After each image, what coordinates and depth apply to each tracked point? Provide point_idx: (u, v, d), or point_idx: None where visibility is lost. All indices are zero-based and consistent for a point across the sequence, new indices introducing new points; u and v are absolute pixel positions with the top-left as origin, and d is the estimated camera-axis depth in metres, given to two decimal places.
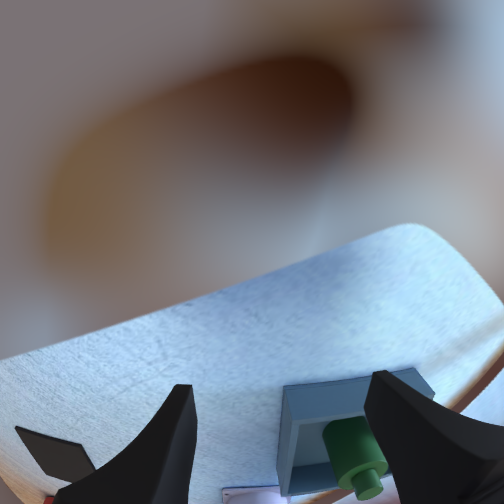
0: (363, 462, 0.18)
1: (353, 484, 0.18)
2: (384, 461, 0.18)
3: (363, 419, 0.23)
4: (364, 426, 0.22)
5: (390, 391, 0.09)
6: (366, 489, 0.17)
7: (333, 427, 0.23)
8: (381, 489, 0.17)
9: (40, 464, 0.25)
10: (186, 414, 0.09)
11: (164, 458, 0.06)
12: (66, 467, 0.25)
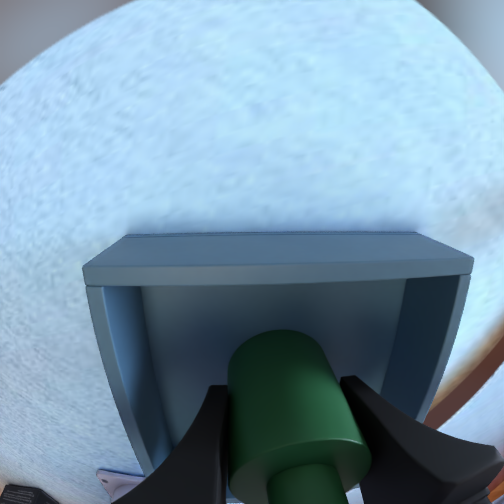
0: (290, 438, 0.07)
1: (268, 501, 0.06)
2: (359, 443, 0.07)
3: (313, 344, 0.12)
4: (312, 354, 0.11)
5: (355, 397, 0.09)
6: None
7: (241, 355, 0.12)
8: None
9: None
10: (225, 415, 0.09)
11: (215, 460, 0.06)
12: None
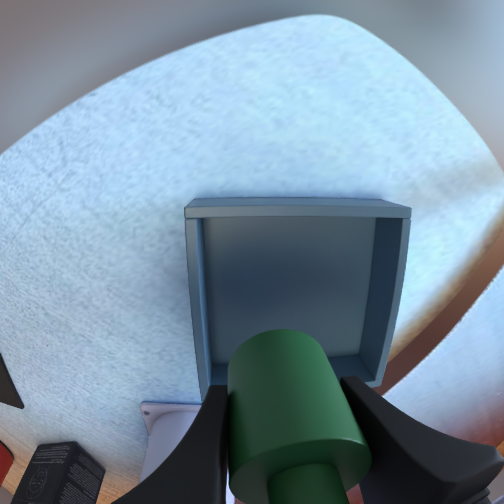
0: (290, 437, 0.07)
1: (268, 500, 0.06)
2: (360, 442, 0.07)
3: (314, 344, 0.12)
4: (312, 354, 0.11)
5: (355, 397, 0.09)
6: None
7: (241, 354, 0.12)
8: None
9: None
10: (225, 415, 0.09)
11: (215, 460, 0.06)
12: None
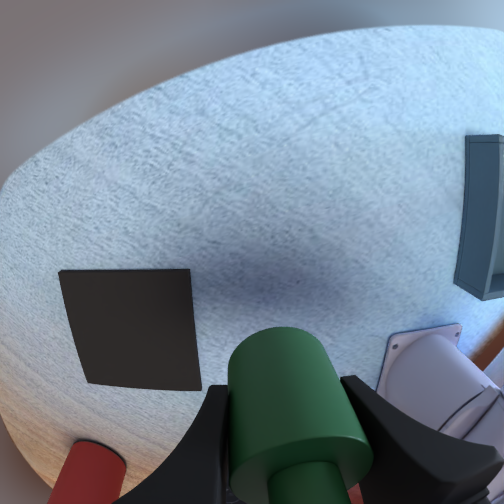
0: (291, 435, 0.07)
1: (269, 499, 0.06)
2: (361, 440, 0.07)
3: (314, 341, 0.12)
4: (313, 351, 0.11)
5: (355, 397, 0.09)
6: None
7: (242, 352, 0.12)
8: None
9: (83, 357, 0.21)
10: (226, 415, 0.09)
11: (215, 460, 0.06)
12: (137, 346, 0.21)
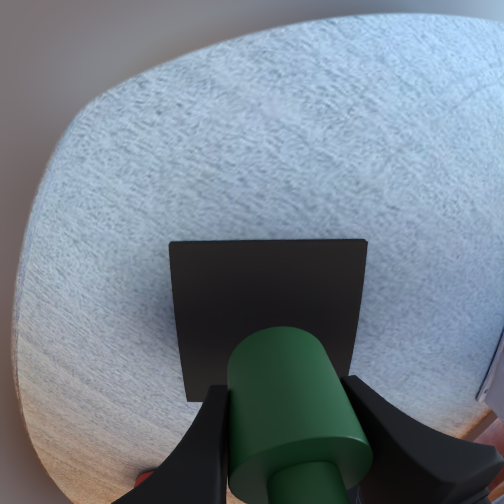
0: (290, 435, 0.07)
1: (268, 499, 0.06)
2: (361, 440, 0.07)
3: (314, 341, 0.12)
4: (313, 351, 0.11)
5: (355, 397, 0.09)
6: None
7: (241, 352, 0.12)
8: None
9: (190, 367, 0.17)
10: (226, 415, 0.09)
11: (215, 460, 0.06)
12: None
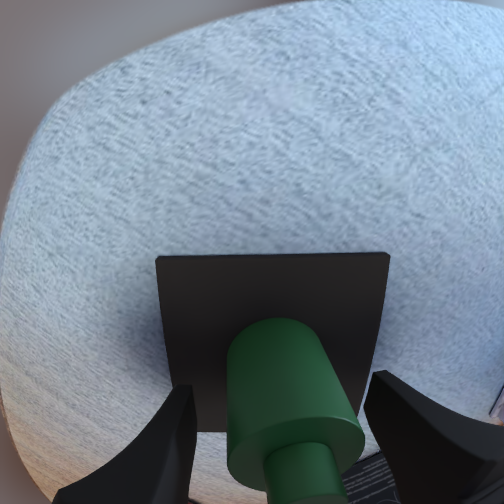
0: (285, 415, 0.07)
1: (265, 479, 0.07)
2: (352, 422, 0.08)
3: (309, 332, 0.13)
4: (308, 340, 0.12)
5: (389, 391, 0.09)
6: (291, 498, 0.06)
7: (240, 341, 0.12)
8: (342, 501, 0.06)
9: None
10: (186, 414, 0.09)
11: (164, 458, 0.06)
12: None
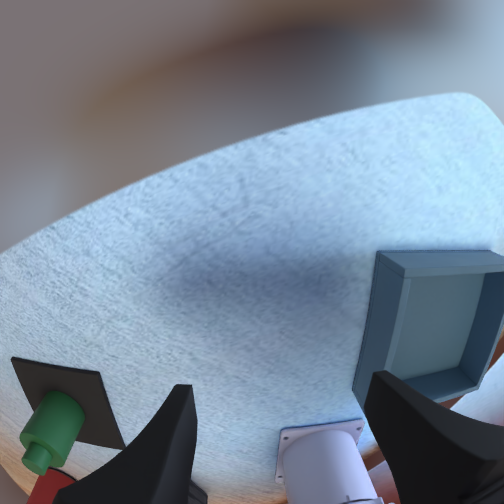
0: (27, 431, 0.16)
1: None
2: (47, 442, 0.16)
3: (67, 401, 0.21)
4: (60, 406, 0.20)
5: (390, 391, 0.09)
6: (23, 457, 0.14)
7: (43, 398, 0.21)
8: (39, 468, 0.14)
9: None
10: (186, 414, 0.09)
11: (164, 458, 0.06)
12: None
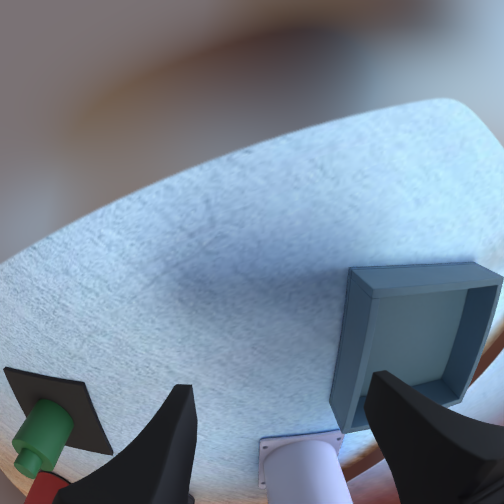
0: (18, 437, 0.16)
1: None
2: (37, 448, 0.16)
3: (56, 409, 0.21)
4: (49, 413, 0.20)
5: (389, 391, 0.09)
6: (15, 462, 0.14)
7: (34, 406, 0.21)
8: (29, 472, 0.14)
9: None
10: (186, 414, 0.09)
11: (164, 458, 0.06)
12: None
